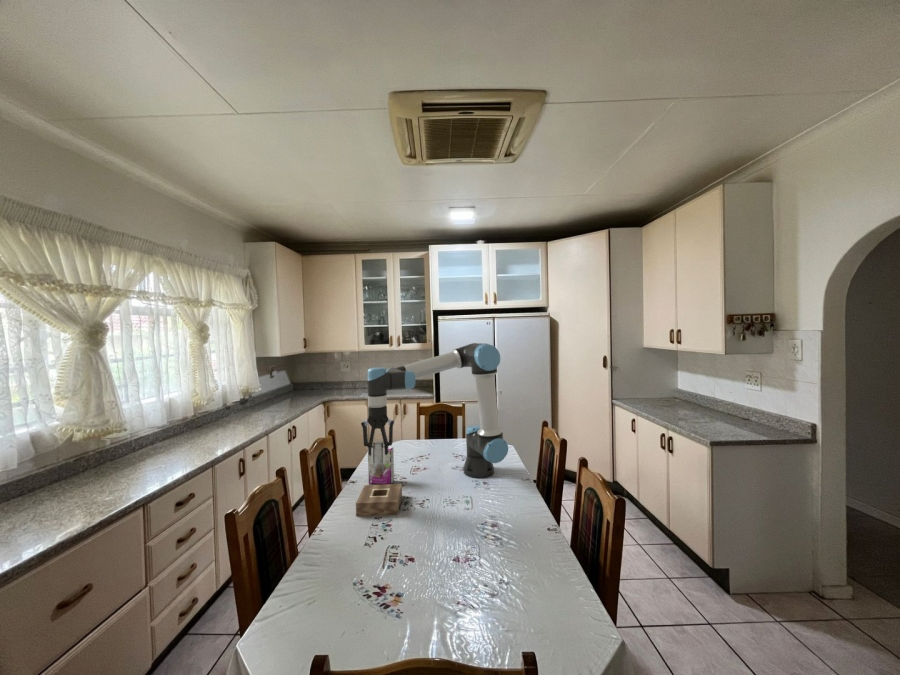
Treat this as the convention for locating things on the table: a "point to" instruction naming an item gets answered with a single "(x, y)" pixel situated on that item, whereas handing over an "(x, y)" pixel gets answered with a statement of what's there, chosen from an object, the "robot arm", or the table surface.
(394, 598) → the table surface
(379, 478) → the candy bar box
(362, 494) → the block
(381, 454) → the pin
